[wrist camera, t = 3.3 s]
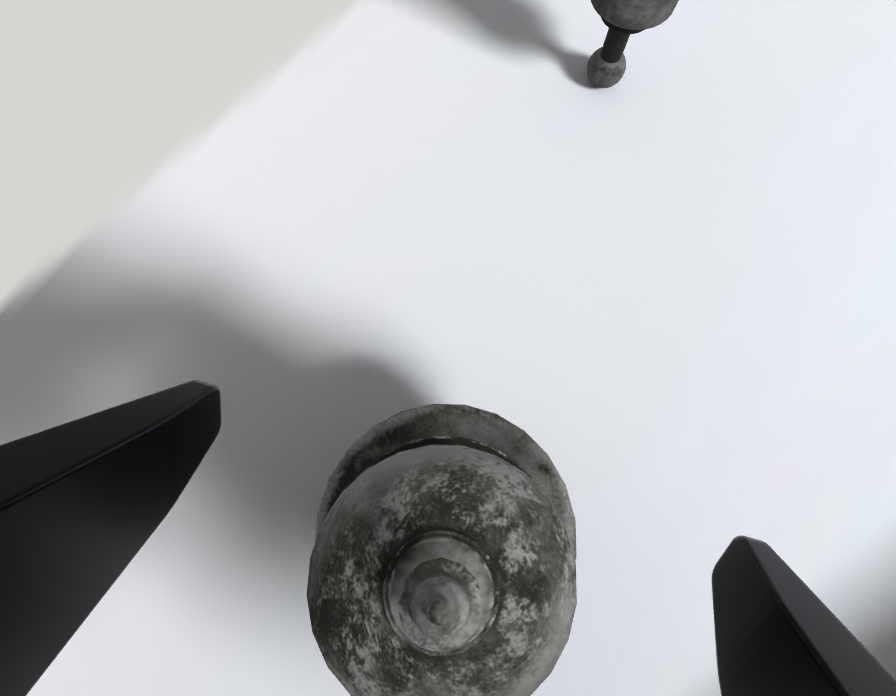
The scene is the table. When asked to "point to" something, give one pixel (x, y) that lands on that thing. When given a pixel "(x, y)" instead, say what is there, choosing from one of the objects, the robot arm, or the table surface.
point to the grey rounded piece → (443, 559)
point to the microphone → (622, 34)
